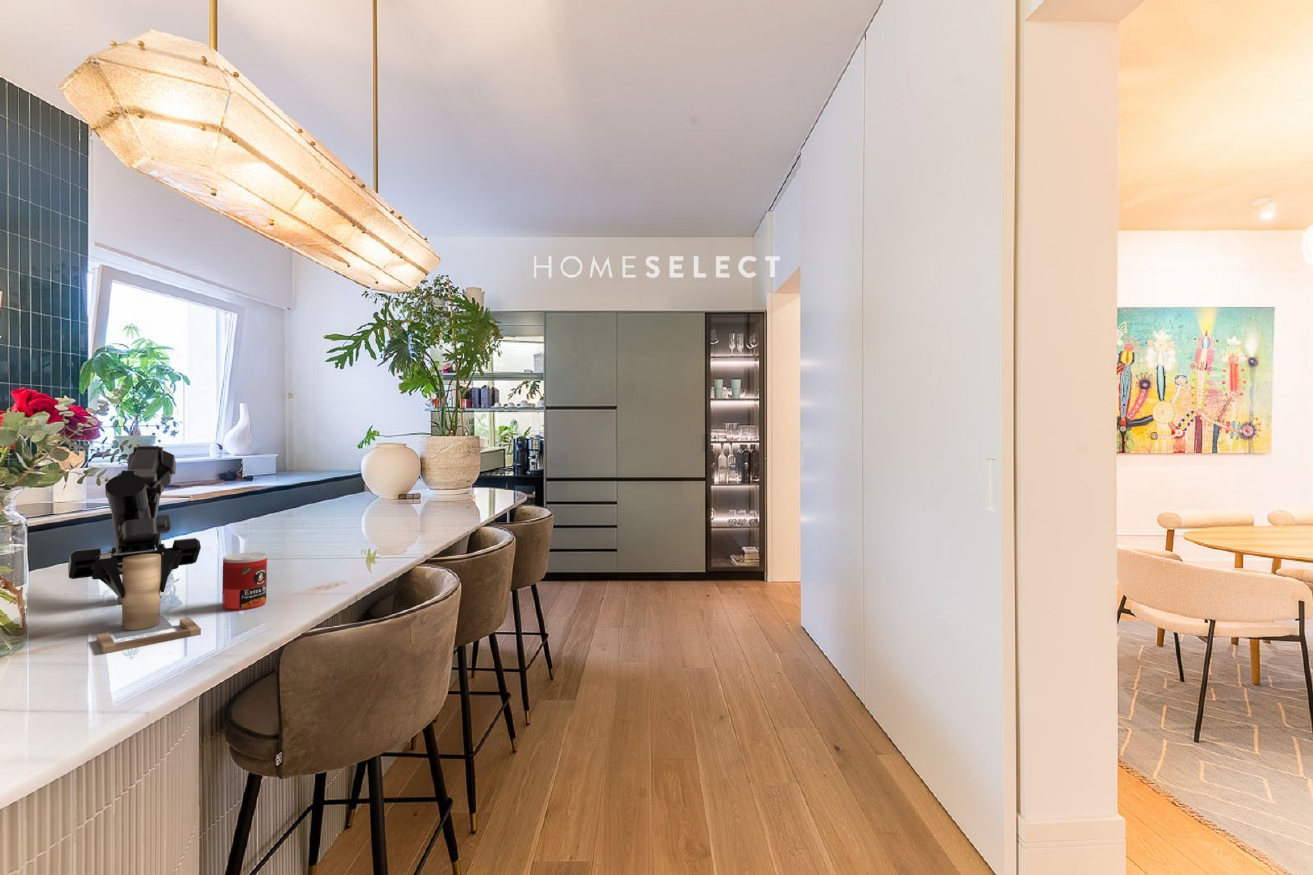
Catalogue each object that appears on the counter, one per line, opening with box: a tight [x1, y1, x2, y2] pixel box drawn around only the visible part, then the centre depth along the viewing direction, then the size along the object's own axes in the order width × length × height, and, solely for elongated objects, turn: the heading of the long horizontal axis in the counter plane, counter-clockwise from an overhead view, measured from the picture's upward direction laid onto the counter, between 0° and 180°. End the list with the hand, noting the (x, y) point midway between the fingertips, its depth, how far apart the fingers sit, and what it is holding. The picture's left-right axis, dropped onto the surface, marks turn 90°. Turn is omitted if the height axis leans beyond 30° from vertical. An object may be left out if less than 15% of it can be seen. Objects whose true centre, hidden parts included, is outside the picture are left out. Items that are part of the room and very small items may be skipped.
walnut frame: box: [96, 617, 202, 655], centre depth 105 cm, size 9×13×2 cm, turn 140°
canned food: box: [221, 551, 268, 612], centre depth 124 cm, size 8×8×11 cm
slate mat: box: [108, 615, 175, 639], centre depth 110 cm, size 10×8×1 cm
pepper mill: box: [121, 554, 161, 630], centre depth 110 cm, size 5×5×13 cm
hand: (143, 594), depth 109 cm, fingers closed on pepper mill, 5 cm apart
